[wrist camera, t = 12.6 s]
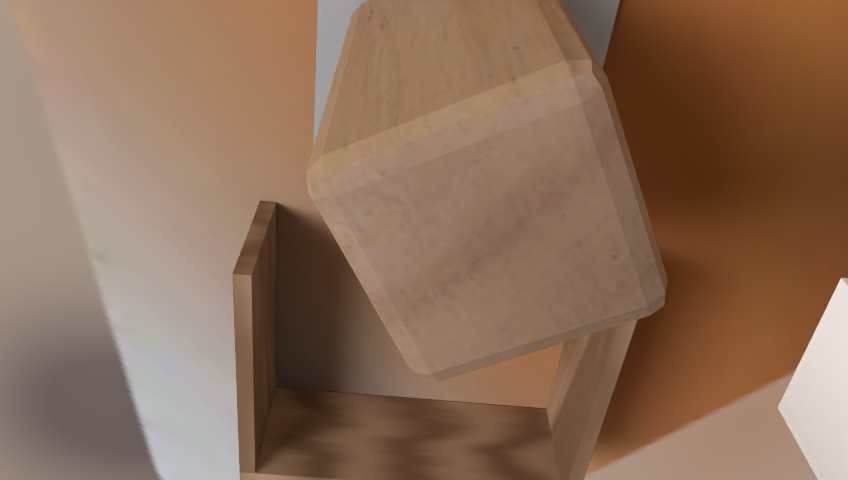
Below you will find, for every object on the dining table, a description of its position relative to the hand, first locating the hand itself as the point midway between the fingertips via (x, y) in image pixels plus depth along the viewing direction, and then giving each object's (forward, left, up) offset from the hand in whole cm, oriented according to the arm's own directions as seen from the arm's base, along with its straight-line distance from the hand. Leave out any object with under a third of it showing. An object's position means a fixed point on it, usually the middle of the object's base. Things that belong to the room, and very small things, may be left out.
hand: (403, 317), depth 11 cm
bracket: (-3, +26, -32) cm, 41 cm away
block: (-3, +6, -31) cm, 32 cm away
